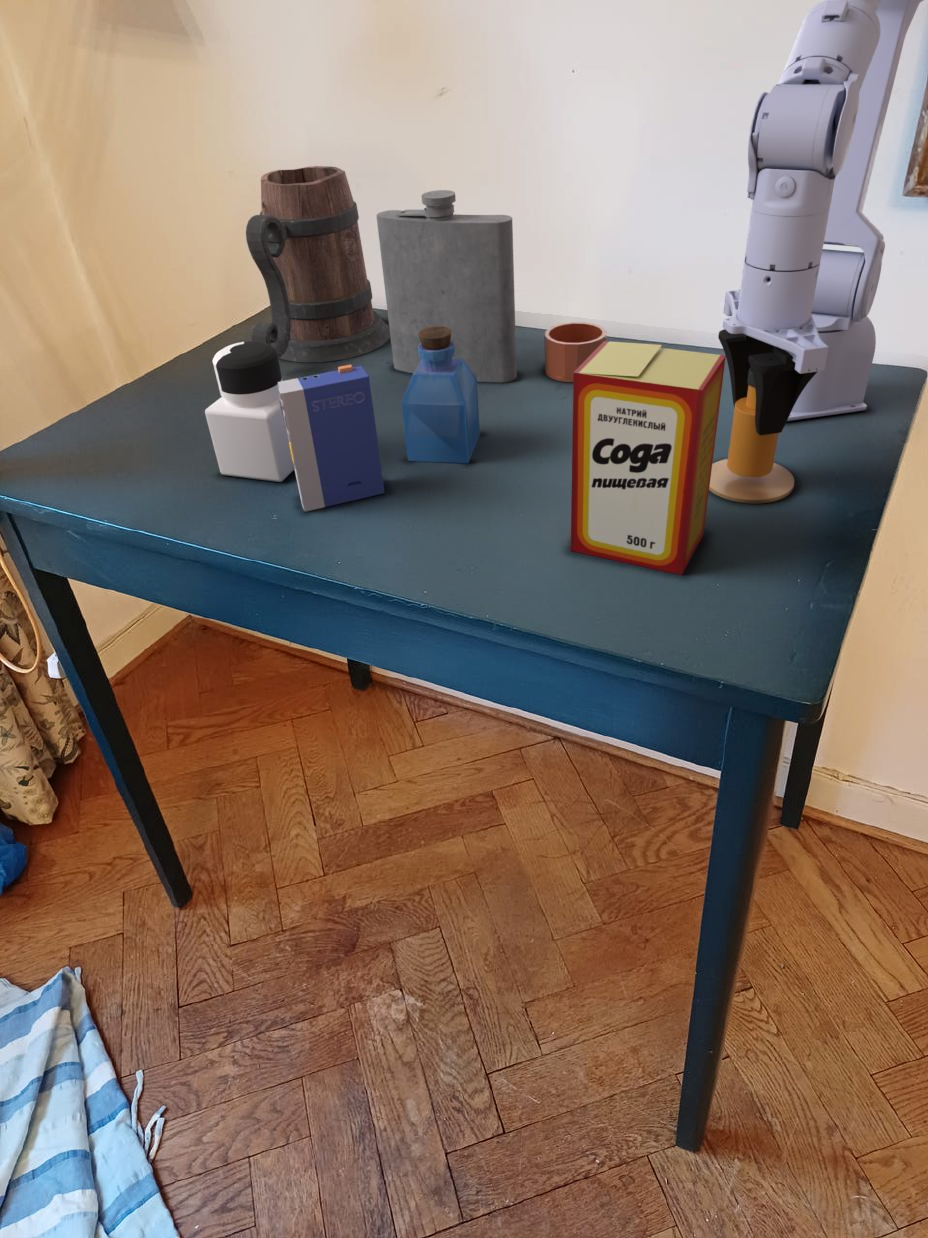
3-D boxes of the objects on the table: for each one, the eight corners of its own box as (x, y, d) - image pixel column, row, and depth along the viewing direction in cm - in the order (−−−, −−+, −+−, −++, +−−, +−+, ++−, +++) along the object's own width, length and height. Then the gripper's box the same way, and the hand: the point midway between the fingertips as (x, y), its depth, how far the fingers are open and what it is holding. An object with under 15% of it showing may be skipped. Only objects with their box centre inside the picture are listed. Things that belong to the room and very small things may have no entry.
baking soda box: (703, 533, 75) (726, 350, 65) (681, 575, 70) (702, 384, 61) (597, 512, 79) (604, 336, 69) (570, 550, 74) (573, 367, 64)
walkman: (377, 480, 86) (360, 361, 79) (384, 493, 84) (368, 372, 76) (297, 498, 84) (273, 378, 77) (303, 512, 82) (278, 389, 75)
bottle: (760, 453, 82) (776, 358, 77) (780, 474, 79) (797, 375, 73) (719, 459, 82) (732, 364, 76) (737, 480, 79) (752, 381, 73)
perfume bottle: (468, 463, 88) (460, 344, 80) (408, 460, 89) (394, 344, 81) (479, 434, 92) (473, 320, 85) (422, 433, 93) (411, 320, 86)
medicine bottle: (315, 450, 92) (294, 336, 84) (282, 483, 87) (257, 365, 79) (255, 443, 94) (229, 332, 87) (219, 475, 89) (189, 360, 81)
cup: (594, 355, 107) (595, 318, 104) (612, 377, 102) (614, 339, 99) (538, 363, 106) (538, 326, 104) (553, 385, 101) (553, 347, 98)
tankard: (306, 311, 127) (280, 156, 114) (412, 320, 121) (396, 158, 109) (210, 375, 110) (167, 202, 98) (327, 389, 104) (297, 207, 92)
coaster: (769, 455, 85) (770, 452, 85) (809, 496, 79) (810, 492, 78) (690, 467, 84) (690, 463, 84) (724, 509, 78) (724, 505, 78)
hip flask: (520, 373, 104) (516, 189, 92) (507, 386, 102) (501, 199, 89) (401, 359, 110) (382, 185, 98) (386, 372, 107) (364, 193, 95)
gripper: (697, 242, 75) (683, 394, 83) (775, 295, 63) (749, 464, 72) (776, 232, 75) (754, 384, 84) (867, 283, 64) (831, 452, 72)
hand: (757, 420), depth 78 cm, fingers closed on bottle, 4 cm apart
